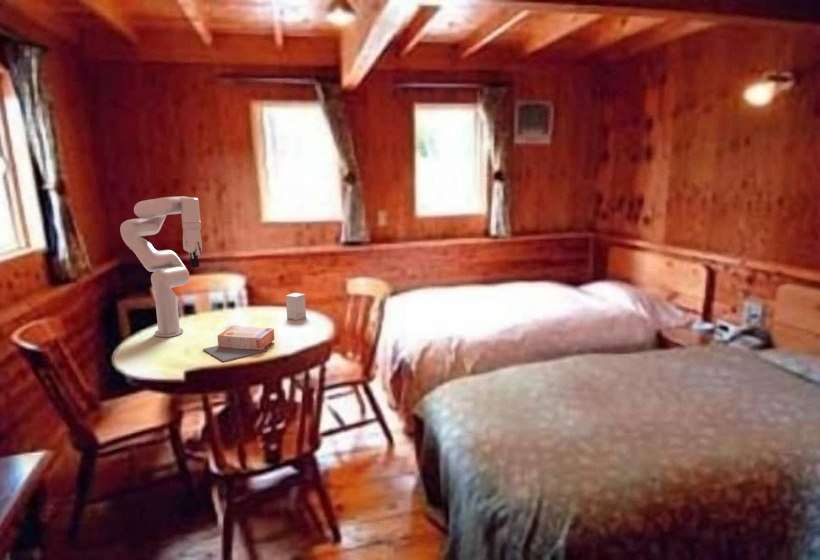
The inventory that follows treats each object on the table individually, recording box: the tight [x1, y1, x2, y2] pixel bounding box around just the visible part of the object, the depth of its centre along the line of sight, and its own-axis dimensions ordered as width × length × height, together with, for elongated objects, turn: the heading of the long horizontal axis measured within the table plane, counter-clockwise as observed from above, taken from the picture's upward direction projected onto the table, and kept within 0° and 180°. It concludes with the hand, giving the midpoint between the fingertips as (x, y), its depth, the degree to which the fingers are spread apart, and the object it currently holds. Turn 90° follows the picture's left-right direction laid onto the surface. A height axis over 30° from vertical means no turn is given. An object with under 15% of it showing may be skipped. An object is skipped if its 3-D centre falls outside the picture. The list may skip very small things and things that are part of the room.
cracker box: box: [217, 325, 275, 350], centre depth 252 cm, size 14×6×21 cm
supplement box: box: [285, 292, 307, 321], centre depth 296 cm, size 7×7×13 cm
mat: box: [202, 345, 268, 363], centre depth 246 cm, size 20×20×1 cm
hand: (194, 266), depth 250 cm, fingers closed
